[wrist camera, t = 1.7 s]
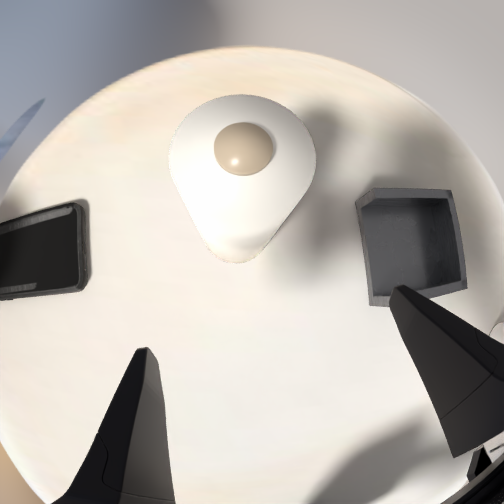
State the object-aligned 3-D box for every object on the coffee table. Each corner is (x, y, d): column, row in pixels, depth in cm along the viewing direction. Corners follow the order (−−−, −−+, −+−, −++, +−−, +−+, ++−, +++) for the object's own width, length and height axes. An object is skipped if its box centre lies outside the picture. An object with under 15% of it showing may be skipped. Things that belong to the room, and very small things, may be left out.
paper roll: (281, 224, 23) (343, 140, 9) (242, 277, 22) (261, 253, 9) (229, 186, 23) (230, 71, 10) (189, 237, 22) (136, 162, 9)
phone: (-18, 229, 20) (81, 199, 21) (-12, 231, 21) (86, 203, 22) (-18, 302, 18) (84, 292, 20) (-11, 302, 20) (90, 292, 21)
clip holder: (429, 201, 24) (451, 190, 21) (443, 289, 23) (467, 288, 19) (355, 202, 23) (373, 188, 20) (369, 305, 22) (391, 307, 19)
